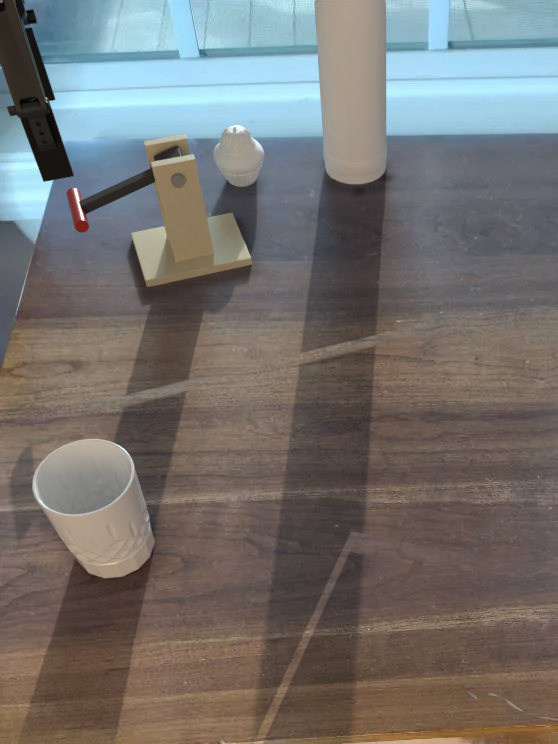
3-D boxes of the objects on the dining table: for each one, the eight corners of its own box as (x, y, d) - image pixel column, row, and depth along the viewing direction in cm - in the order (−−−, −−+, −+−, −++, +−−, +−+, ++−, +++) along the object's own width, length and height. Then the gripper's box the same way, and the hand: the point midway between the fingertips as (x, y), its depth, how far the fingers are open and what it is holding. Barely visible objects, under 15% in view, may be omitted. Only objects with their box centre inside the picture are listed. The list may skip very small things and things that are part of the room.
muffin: (258, 199, 106) (250, 145, 100) (210, 191, 106) (200, 137, 101) (274, 170, 109) (267, 116, 103) (228, 163, 110) (219, 109, 104)
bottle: (387, 151, 112) (387, -128, 87) (387, 187, 107) (387, -96, 83) (325, 150, 112) (307, -129, 87) (323, 186, 107) (303, -97, 82)
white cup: (53, 570, 75) (11, 500, 67) (99, 501, 79) (66, 428, 71) (134, 595, 74) (102, 528, 65) (177, 524, 78) (152, 453, 70)
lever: (81, 238, 90) (69, 220, 88) (73, 205, 93) (60, 187, 91) (195, 185, 90) (185, 166, 88) (183, 154, 93) (173, 135, 91)
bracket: (147, 289, 96) (117, 185, 85) (133, 241, 101) (103, 137, 90) (252, 266, 98) (236, 162, 88) (233, 220, 103) (216, 117, 93)
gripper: (24, -74, 58) (109, 204, 76) (-7, -194, 72) (72, 66, 89) (-93, -58, 57) (22, 221, 74) (-103, -185, 70) (-4, 78, 88)
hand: (49, 137), depth 82 cm, fingers open, 13 cm apart
